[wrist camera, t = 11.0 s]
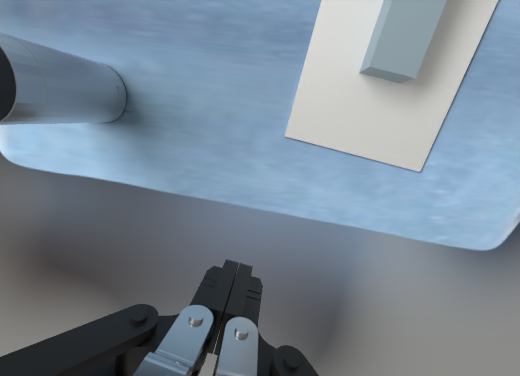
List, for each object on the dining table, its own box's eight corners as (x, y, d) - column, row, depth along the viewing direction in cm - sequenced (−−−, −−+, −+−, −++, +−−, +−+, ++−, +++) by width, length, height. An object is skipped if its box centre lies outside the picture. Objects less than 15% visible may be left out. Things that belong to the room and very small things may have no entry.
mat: (284, 135, 39) (284, 136, 39) (338, -62, 32) (339, -64, 31) (418, 171, 39) (419, 172, 38) (505, -21, 31) (508, -23, 31)
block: (369, 66, 31) (416, -69, 27) (359, 72, 35) (398, -43, 31) (415, 78, 31) (469, -56, 27) (399, 83, 35) (444, -32, 31)
